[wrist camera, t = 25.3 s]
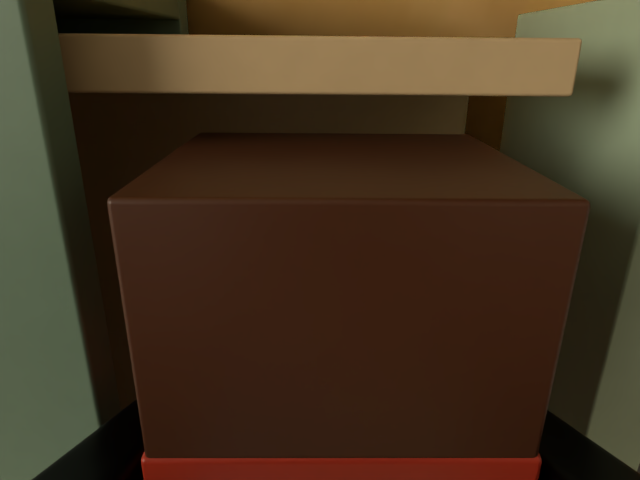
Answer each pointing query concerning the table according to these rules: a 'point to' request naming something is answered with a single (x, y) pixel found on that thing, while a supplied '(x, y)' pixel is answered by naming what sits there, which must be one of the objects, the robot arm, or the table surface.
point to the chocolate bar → (344, 306)
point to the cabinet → (52, 235)
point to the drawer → (403, 118)
